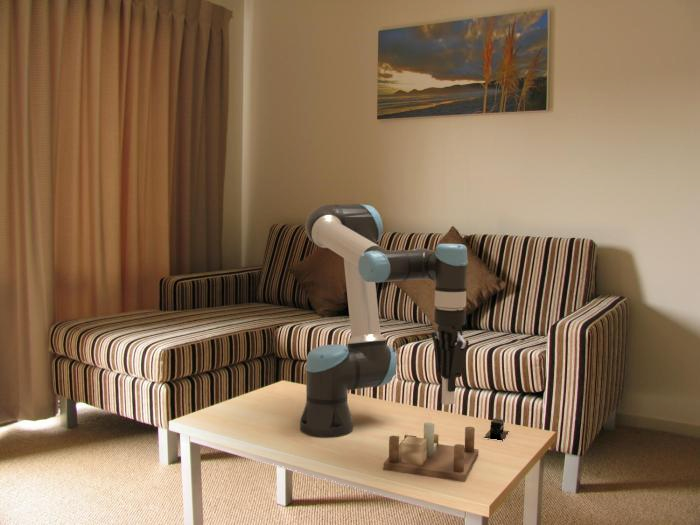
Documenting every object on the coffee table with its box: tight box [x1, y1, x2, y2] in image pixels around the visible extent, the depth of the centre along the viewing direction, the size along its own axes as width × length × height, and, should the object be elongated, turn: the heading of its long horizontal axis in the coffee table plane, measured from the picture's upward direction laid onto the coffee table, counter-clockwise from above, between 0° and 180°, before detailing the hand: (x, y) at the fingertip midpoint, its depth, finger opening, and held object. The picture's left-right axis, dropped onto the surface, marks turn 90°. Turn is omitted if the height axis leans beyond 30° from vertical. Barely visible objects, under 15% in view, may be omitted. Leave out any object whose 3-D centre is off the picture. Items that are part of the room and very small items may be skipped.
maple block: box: [401, 435, 427, 465], centre depth 175 cm, size 5×5×5 cm
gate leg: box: [423, 421, 437, 457], centre depth 180 cm, size 6×3×8 cm, turn 160°
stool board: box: [382, 426, 479, 483], centre depth 178 cm, size 20×18×8 cm
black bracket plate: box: [483, 418, 510, 442], centre depth 199 cm, size 12×7×5 cm, turn 156°
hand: (448, 403), depth 174 cm, fingers closed
